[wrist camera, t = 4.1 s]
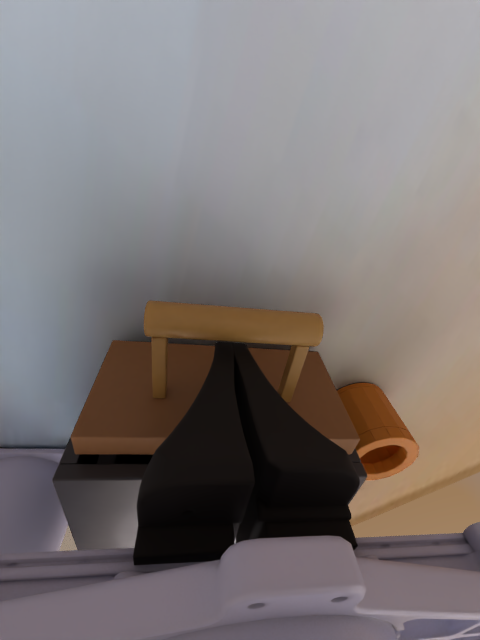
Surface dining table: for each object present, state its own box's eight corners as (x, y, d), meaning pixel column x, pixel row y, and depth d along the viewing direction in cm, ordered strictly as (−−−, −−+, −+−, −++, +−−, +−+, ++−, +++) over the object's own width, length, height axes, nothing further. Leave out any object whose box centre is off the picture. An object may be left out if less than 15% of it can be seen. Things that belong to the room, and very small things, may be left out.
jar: (315, 424, 24) (335, 481, 20) (334, 381, 21) (361, 437, 17) (369, 425, 25) (399, 480, 21) (394, 383, 22) (433, 438, 18)
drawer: (103, 256, 14) (42, 335, 9) (344, 280, 16) (410, 356, 11) (126, 465, 23) (103, 562, 18) (276, 464, 25) (294, 551, 20)
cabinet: (108, 350, 18) (51, 480, 11) (316, 361, 20) (368, 476, 13) (123, 472, 25) (93, 595, 19) (275, 471, 27) (296, 581, 21)
